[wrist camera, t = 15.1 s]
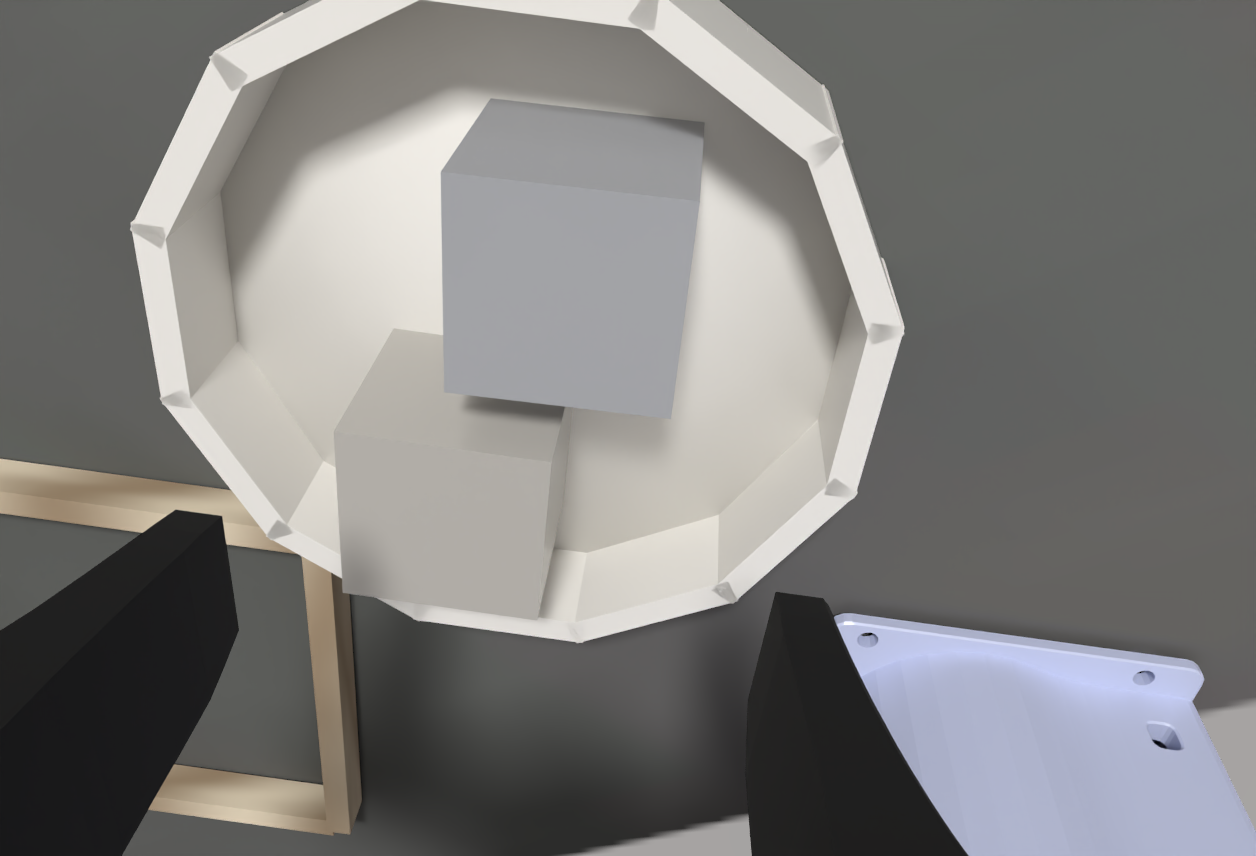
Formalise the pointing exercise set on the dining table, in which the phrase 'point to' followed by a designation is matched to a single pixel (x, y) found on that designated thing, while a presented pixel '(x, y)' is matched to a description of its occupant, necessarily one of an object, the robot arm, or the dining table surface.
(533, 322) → the matte grey cube
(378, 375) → the beige grey cube
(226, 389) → the bowl
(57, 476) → the parts frame
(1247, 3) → the dining table surface
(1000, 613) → the dining table surface
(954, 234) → the dining table surface
